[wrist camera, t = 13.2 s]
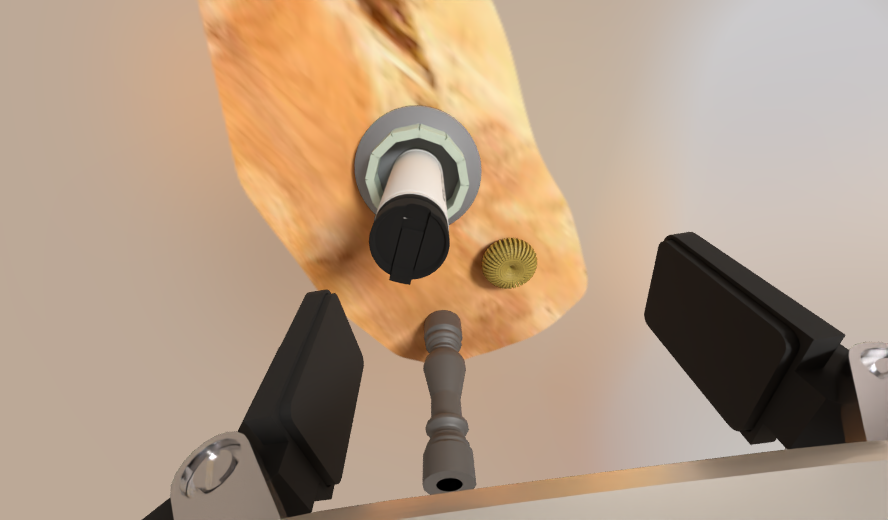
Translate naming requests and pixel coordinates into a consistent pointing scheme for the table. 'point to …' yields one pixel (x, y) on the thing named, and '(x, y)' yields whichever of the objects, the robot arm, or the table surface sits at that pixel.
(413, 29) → the table surface
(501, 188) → the table surface
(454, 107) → the table surface
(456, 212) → the mug dock
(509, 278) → the sculpture
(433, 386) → the candle holder
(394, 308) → the table surface
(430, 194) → the travel mug
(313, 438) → the robot arm
